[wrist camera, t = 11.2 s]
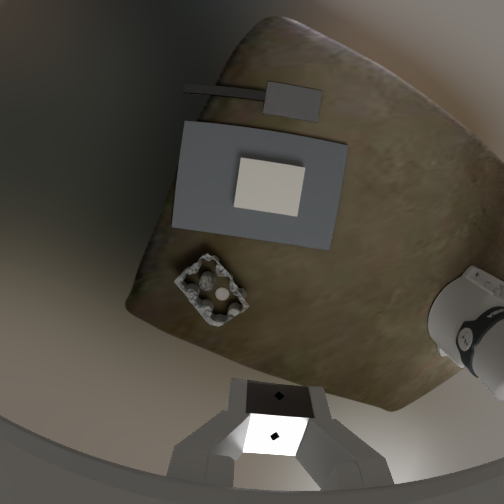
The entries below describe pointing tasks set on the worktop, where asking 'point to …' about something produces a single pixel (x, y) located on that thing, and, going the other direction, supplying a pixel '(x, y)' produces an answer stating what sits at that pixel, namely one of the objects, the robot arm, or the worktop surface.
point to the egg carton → (221, 293)
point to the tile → (269, 186)
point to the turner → (270, 98)
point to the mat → (226, 175)
